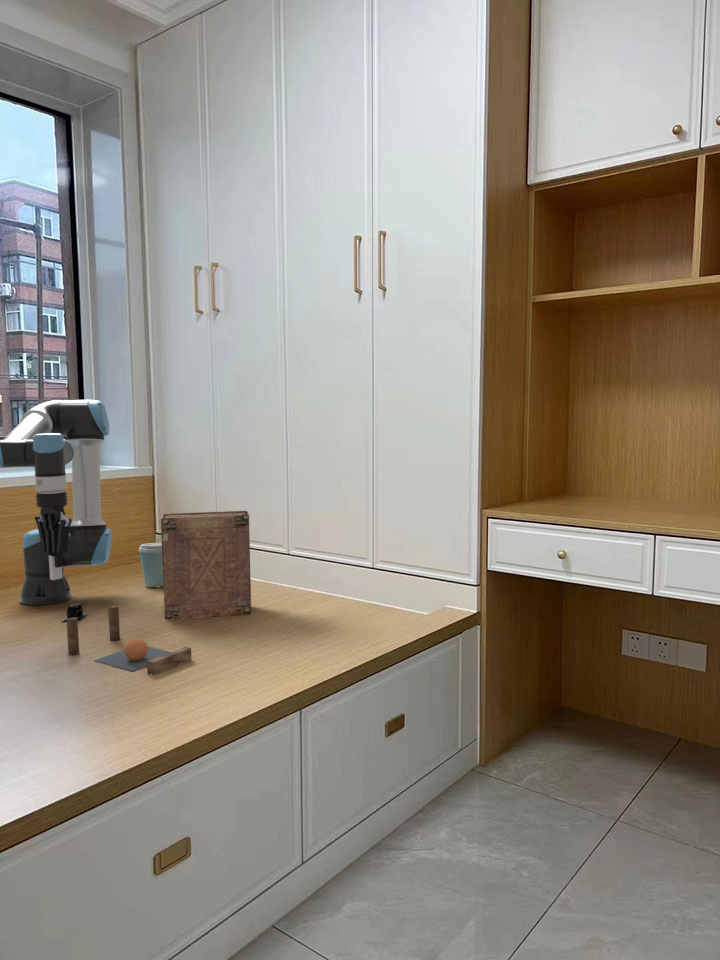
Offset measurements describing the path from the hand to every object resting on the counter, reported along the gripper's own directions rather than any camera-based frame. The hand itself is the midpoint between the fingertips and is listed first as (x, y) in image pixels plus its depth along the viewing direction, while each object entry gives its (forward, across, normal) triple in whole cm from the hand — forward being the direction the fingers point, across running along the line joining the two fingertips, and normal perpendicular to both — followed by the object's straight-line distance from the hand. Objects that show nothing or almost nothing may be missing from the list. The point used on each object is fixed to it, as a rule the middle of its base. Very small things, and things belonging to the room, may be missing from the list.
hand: (56, 578), depth 196 cm
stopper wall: (+16, +43, 0) cm, 46 cm away
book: (+17, +18, +38) cm, 45 cm away
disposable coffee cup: (+17, -22, +53) cm, 60 cm away
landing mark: (+16, +31, 0) cm, 35 cm away
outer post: (+16, +15, -6) cm, 23 cm away
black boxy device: (+17, -12, +14) cm, 25 cm away
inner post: (+16, +15, +6) cm, 23 cm away
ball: (+13, +33, -2) cm, 36 cm away
